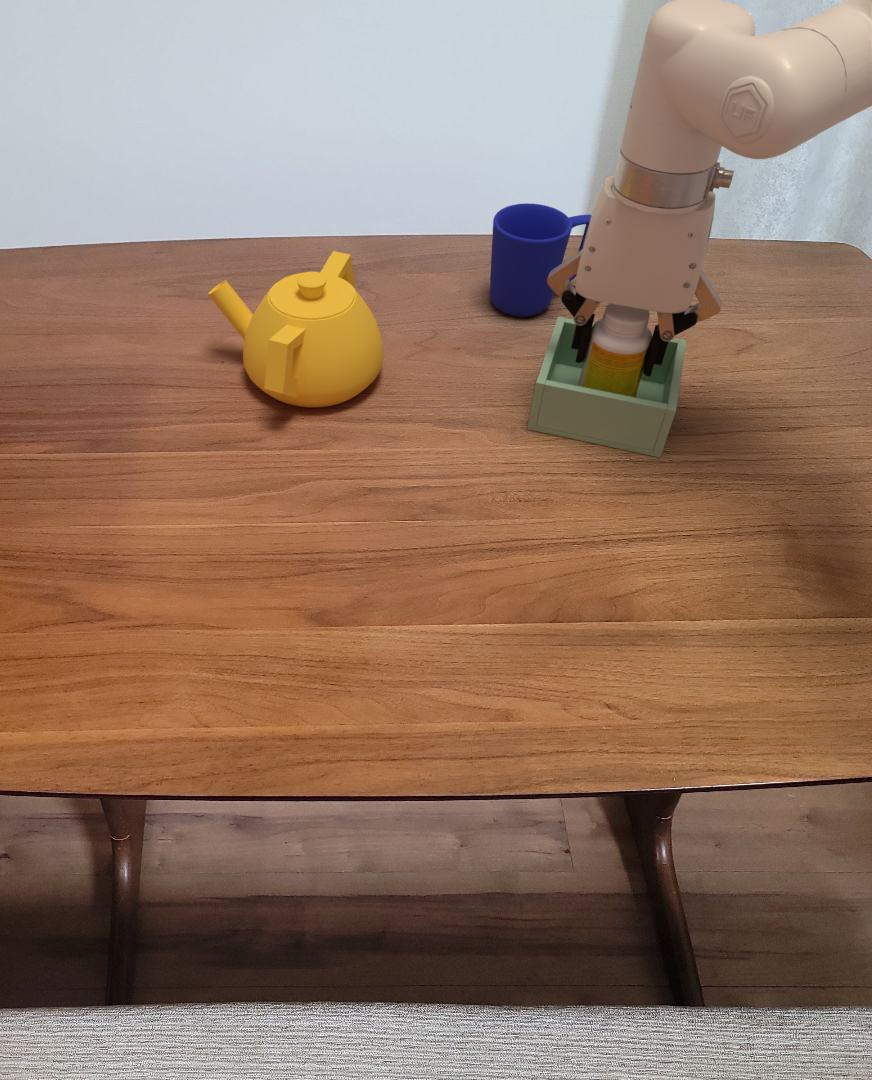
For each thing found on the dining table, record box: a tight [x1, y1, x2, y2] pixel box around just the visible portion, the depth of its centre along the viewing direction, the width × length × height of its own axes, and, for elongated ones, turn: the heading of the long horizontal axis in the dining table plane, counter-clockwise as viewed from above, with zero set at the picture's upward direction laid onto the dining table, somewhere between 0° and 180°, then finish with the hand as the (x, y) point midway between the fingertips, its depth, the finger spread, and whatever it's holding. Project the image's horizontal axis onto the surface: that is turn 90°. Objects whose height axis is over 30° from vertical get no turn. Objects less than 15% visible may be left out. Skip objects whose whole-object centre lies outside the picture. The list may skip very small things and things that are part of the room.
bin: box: [526, 316, 688, 458], centre depth 90 cm, size 13×12×6 cm
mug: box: [489, 203, 592, 318], centre depth 102 cm, size 8×12×10 cm
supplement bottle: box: [578, 303, 653, 397], centre depth 88 cm, size 6×6×10 cm
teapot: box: [207, 250, 384, 408], centre depth 92 cm, size 20×18×11 cm
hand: (614, 359), depth 88 cm, fingers closed on supplement bottle, 5 cm apart
